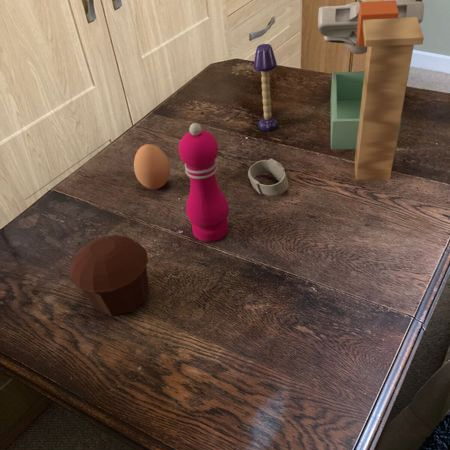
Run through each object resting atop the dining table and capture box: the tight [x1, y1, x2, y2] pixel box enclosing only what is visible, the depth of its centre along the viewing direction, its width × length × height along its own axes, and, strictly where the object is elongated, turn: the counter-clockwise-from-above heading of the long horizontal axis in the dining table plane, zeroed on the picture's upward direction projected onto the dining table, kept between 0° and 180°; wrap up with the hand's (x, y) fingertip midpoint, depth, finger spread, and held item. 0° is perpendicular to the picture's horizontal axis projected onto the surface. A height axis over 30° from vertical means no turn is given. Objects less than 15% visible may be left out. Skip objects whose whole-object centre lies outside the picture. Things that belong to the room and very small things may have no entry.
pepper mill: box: [178, 122, 230, 243], centre depth 79 cm, size 7×7×20 cm
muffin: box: [69, 234, 149, 317], centre depth 74 cm, size 12×11×10 cm
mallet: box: [357, 0, 399, 46], centre depth 89 cm, size 6×16×5 cm, turn 172°
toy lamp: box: [253, 43, 278, 132], centre depth 103 cm, size 5×5×17 cm
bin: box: [330, 70, 402, 150], centre depth 103 cm, size 13×22×6 cm, turn 172°
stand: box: [354, 17, 425, 181], centre depth 83 cm, size 8×8×26 cm
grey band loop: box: [247, 158, 290, 196], centre depth 91 cm, size 9×6×5 cm
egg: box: [133, 143, 171, 190], centre depth 94 cm, size 7×7×9 cm
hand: (373, 7), depth 92 cm, fingers closed on mallet, 3 cm apart
